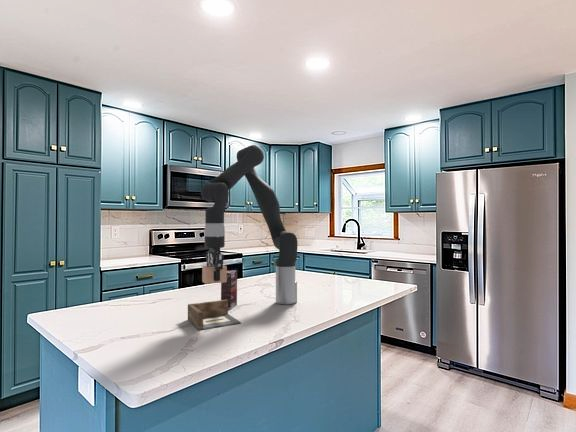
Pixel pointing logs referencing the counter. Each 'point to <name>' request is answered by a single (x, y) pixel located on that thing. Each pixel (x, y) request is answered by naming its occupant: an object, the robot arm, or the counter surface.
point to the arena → (210, 315)
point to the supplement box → (230, 289)
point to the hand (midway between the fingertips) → (214, 279)
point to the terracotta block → (209, 275)
